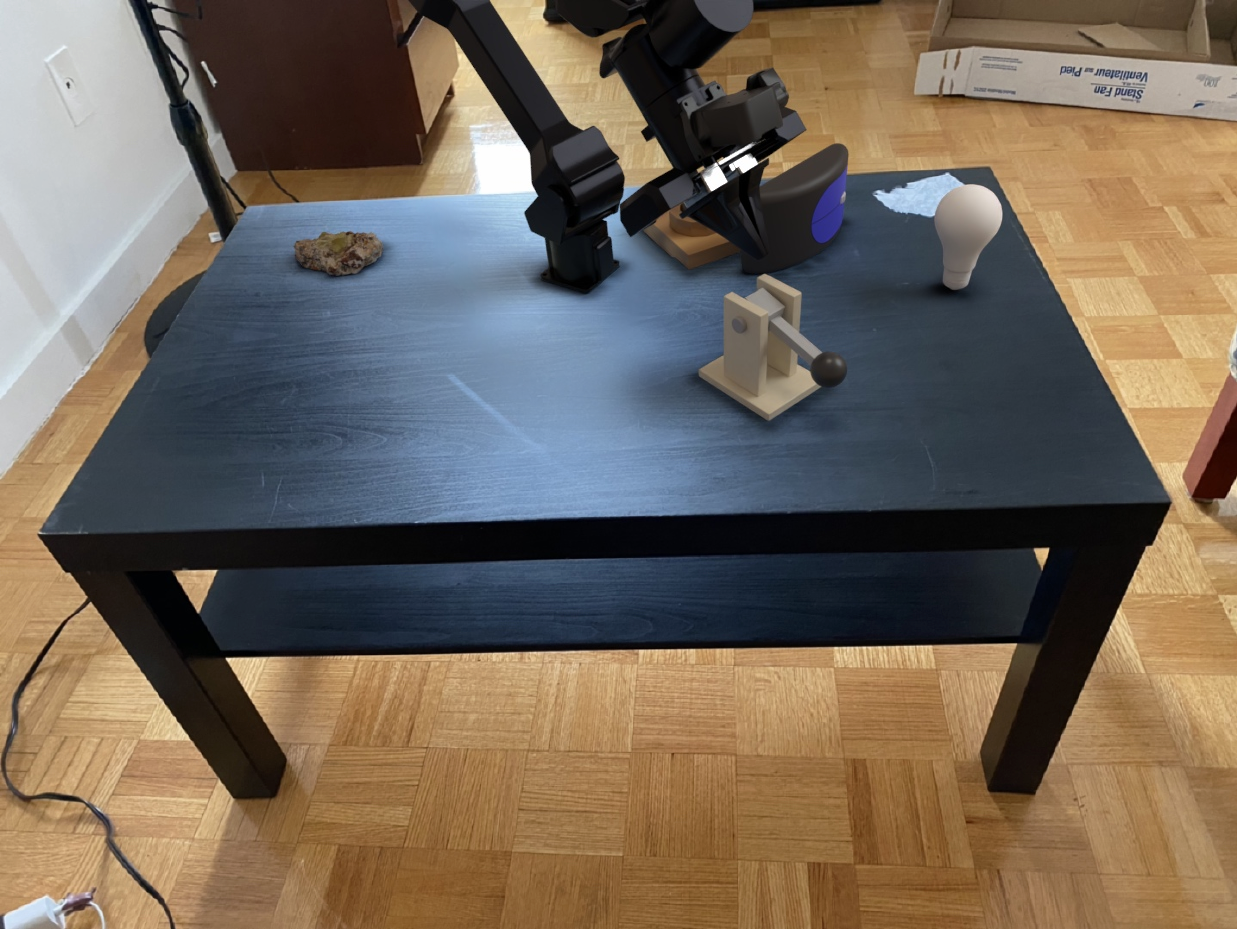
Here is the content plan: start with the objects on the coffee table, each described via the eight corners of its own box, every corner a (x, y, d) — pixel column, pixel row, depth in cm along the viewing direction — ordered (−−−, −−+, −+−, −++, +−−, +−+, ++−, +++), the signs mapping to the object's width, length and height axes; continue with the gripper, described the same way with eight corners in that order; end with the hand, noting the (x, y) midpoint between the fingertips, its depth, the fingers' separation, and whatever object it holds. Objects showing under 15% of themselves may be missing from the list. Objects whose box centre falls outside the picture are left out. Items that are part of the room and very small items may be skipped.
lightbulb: (987, 275, 98) (1010, 175, 90) (983, 308, 94) (1006, 207, 86) (926, 269, 99) (942, 170, 92) (919, 301, 95) (936, 200, 88)
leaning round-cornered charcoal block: (770, 290, 99) (773, 207, 92) (736, 275, 101) (737, 193, 95) (864, 228, 106) (873, 147, 100) (830, 215, 109) (837, 136, 102)
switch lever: (848, 384, 80) (859, 361, 78) (824, 400, 79) (834, 377, 77) (759, 307, 85) (766, 282, 82) (735, 321, 83) (741, 296, 81)
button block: (641, 229, 110) (639, 198, 107) (709, 208, 112) (709, 176, 110) (688, 273, 102) (687, 240, 100) (760, 248, 105) (761, 216, 102)
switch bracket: (822, 389, 87) (830, 298, 80) (768, 424, 84) (772, 333, 77) (751, 347, 92) (753, 259, 85) (698, 379, 89) (696, 290, 82)
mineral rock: (391, 219, 111) (366, 237, 104) (398, 256, 113) (374, 276, 106) (305, 224, 113) (275, 241, 106) (313, 260, 115) (284, 279, 108)
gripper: (643, 85, 69) (752, 273, 71) (800, 9, 78) (892, 178, 80) (574, 152, 78) (672, 315, 81) (721, 77, 87) (806, 227, 90)
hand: (764, 257), depth 82 cm, fingers closed
